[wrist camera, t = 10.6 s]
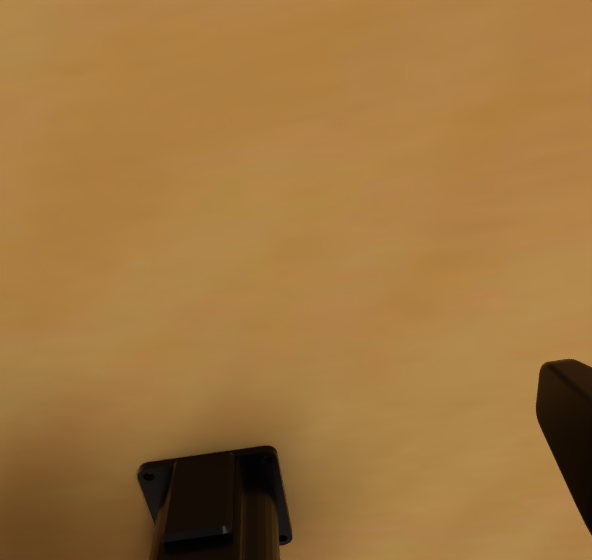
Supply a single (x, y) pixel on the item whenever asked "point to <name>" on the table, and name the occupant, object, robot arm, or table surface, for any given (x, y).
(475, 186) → the table surface
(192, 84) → the table surface
